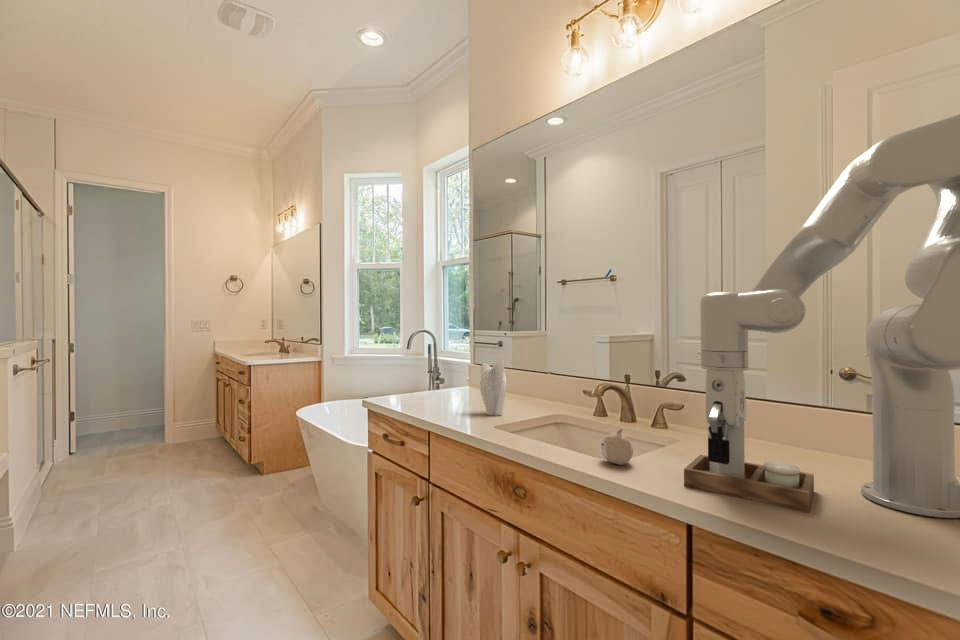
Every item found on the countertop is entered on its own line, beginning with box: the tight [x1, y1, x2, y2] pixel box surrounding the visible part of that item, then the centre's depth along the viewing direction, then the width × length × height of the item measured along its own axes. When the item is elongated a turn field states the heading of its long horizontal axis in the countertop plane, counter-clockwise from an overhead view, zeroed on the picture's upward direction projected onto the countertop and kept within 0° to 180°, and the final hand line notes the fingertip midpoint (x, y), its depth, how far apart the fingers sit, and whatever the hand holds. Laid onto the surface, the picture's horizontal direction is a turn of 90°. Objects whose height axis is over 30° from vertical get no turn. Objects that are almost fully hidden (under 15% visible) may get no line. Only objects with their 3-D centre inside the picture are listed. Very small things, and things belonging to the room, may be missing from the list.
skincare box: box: [708, 417, 745, 479], centre depth 81 cm, size 6×4×12 cm
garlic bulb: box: [600, 428, 634, 466], centre depth 94 cm, size 7×6×8 cm
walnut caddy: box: [683, 454, 815, 513], centre depth 79 cm, size 18×11×3 cm, turn 50°
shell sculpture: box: [479, 358, 507, 417], centre depth 143 cm, size 8×8×18 cm
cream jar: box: [763, 461, 801, 489], centre depth 76 cm, size 5×5×4 cm
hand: (725, 455), depth 81 cm, fingers open, 9 cm apart
